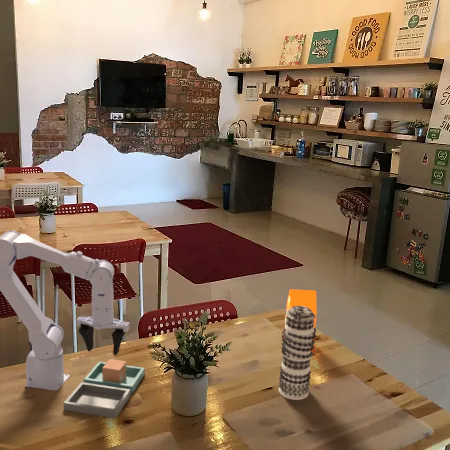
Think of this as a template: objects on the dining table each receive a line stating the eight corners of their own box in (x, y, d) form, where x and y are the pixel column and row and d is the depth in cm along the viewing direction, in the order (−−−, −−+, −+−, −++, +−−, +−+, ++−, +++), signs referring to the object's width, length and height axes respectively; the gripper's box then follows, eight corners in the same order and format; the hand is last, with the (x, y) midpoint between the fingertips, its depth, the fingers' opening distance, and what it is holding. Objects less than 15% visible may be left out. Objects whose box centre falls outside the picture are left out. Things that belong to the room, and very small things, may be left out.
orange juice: (312, 352, 165) (318, 295, 160) (285, 350, 165) (290, 293, 160) (309, 341, 173) (314, 286, 168) (283, 339, 173) (288, 285, 168)
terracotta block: (102, 383, 140) (102, 367, 139) (109, 374, 145) (109, 358, 144) (119, 386, 139) (119, 370, 138) (126, 377, 144) (126, 361, 143)
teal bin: (84, 387, 139) (83, 379, 138) (99, 369, 149) (99, 361, 148) (132, 394, 137) (132, 386, 136) (144, 375, 146) (144, 367, 146)
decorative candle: (317, 395, 140) (325, 312, 134) (290, 404, 136) (297, 318, 130) (297, 379, 148) (304, 300, 142) (271, 387, 144) (277, 305, 138)
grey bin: (63, 411, 128) (63, 402, 127) (81, 390, 138) (81, 382, 137) (115, 420, 126) (115, 411, 125) (130, 397, 135) (130, 389, 135)
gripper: (70, 308, 134) (72, 354, 137) (122, 315, 132) (122, 361, 135) (82, 298, 141) (83, 343, 144) (132, 304, 138) (132, 349, 142)
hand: (103, 351), depth 140 cm, fingers open, 7 cm apart
